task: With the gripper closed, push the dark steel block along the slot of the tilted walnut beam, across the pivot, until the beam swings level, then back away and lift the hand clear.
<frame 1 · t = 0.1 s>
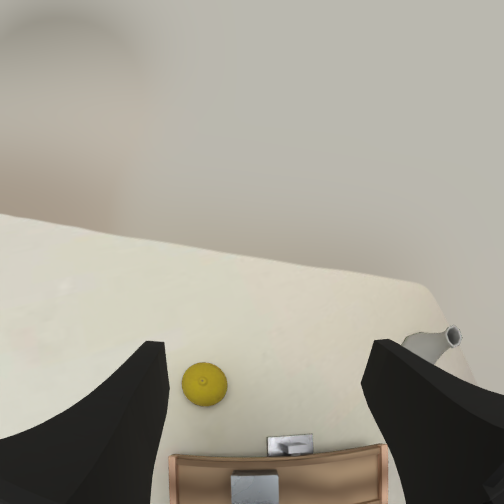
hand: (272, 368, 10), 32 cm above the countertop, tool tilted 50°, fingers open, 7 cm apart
steel block: (255, 491, 28), point 4 cm above the countertop, tilted 6°, touching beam
flask: (416, 354, 42), on the countertop
lemon: (206, 387, 38), on the countertop
pivot stand: (290, 481, 32), on the countertop
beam: (280, 490, 28), point 4 cm above the countertop, hinge at -6.3°, touching steel block
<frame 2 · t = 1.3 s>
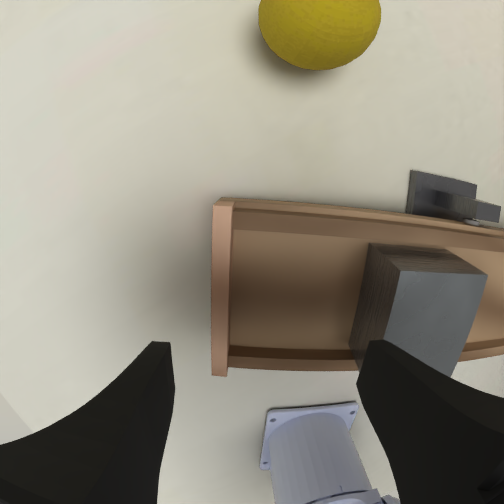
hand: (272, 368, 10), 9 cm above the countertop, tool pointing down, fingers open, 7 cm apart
steel block: (399, 298, 15), point 4 cm above the countertop, tilted 6°, touching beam
lemon: (298, 44, 15), on the countertop
pivot stand: (427, 271, 20), on the countertop
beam: (439, 297, 15), point 4 cm above the countertop, hinge at -6.3°, touching steel block
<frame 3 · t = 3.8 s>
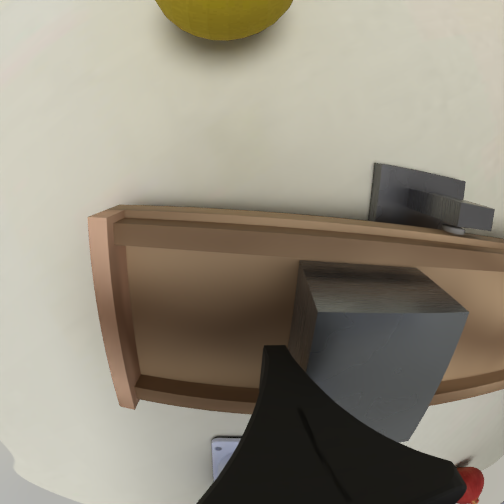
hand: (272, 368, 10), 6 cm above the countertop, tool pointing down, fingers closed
steel block: (348, 331, 12), point 4 cm above the countertop, tilted 6°, touching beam, gripper
lemon: (225, 17, 12), on the countertop
red pomegranate: (455, 468, 28), on the countertop
pivot stand: (400, 290, 17), on the countertop
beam: (406, 329, 12), point 4 cm above the countertop, hinge at -6.3°, touching steel block
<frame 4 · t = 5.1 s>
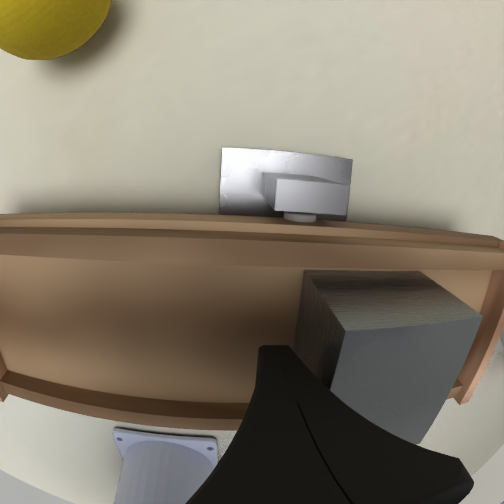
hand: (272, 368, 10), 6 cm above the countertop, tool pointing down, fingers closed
steel block: (352, 339, 12), point 5 cm above the countertop, touching gripper
lemon: (84, 29, 11), on the countertop
pivot stand: (275, 290, 16), on the countertop
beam: (240, 339, 11), point 5 cm above the countertop, hinge at 0.4°
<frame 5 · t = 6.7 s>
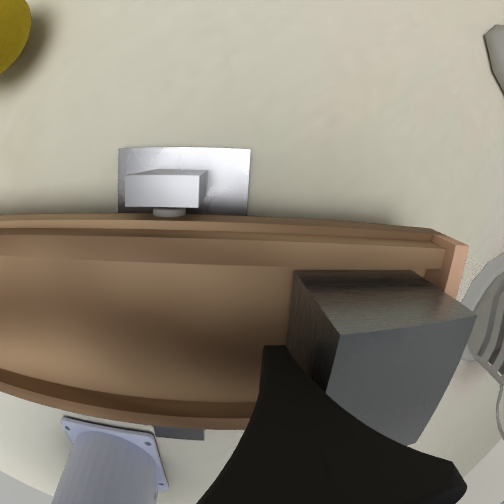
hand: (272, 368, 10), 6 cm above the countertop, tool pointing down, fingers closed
steel block: (344, 340, 12), point 5 cm above the countertop, touching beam, gripper
lemon: (20, 49, 11), on the countertop
pivot stand: (183, 288, 15), on the countertop
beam: (120, 332, 11), point 5 cm above the countertop, hinge at 0.6°, touching steel block
french press: (488, 318, 19), on the countertop
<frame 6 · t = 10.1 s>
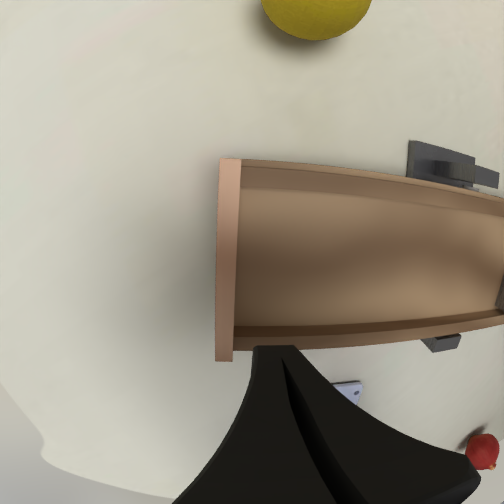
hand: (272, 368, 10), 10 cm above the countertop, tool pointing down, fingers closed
lemon: (297, 20, 15), on the countertop
red pomegranate: (471, 436, 31), on the countertop
pivot stand: (429, 243, 20), on the countertop
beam: (446, 264, 15), point 5 cm above the countertop, hinge at 0.4°, touching steel block
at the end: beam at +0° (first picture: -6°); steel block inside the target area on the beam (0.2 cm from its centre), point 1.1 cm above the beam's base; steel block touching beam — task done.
